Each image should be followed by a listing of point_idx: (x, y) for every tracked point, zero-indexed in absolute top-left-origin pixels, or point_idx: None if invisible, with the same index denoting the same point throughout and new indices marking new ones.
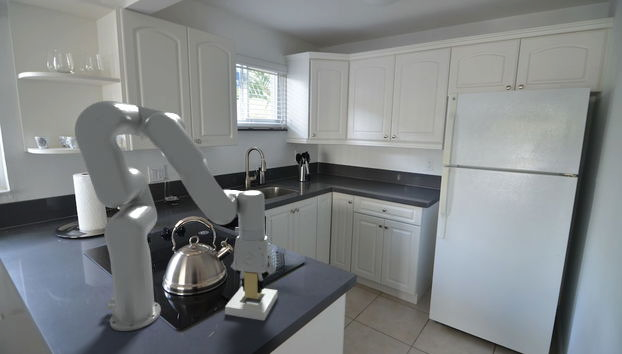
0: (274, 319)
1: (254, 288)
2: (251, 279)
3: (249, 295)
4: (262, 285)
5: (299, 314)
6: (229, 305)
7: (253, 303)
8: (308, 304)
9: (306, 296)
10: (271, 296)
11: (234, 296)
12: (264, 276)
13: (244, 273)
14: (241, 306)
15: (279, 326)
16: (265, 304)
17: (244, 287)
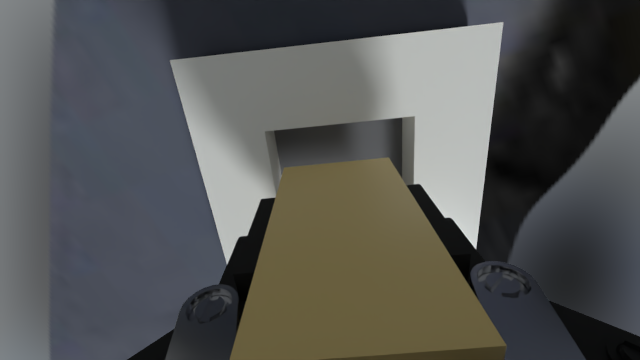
0: (152, 96)
1: (301, 207)
2: (336, 268)
3: (349, 168)
4: (230, 258)
5: (59, 185)
6: (472, 48)
7: None
8: (76, 270)
9: (125, 318)
10: (234, 242)
11: (478, 166)
12: (156, 358)
13: (487, 329)
14: (373, 71)
15: (83, 43)
16: (219, 153)
17: (411, 194)
